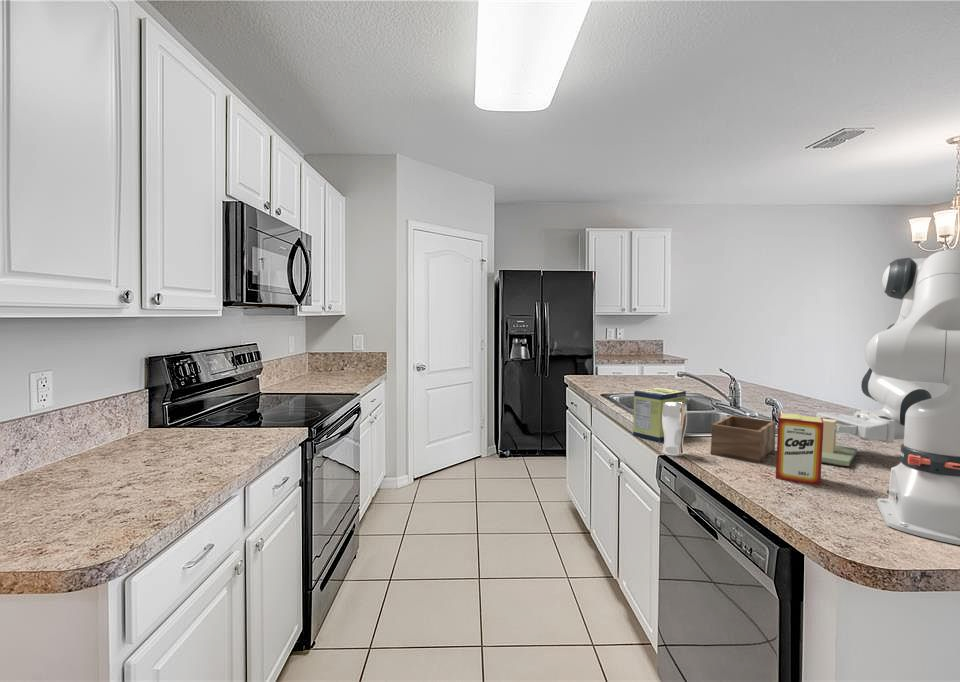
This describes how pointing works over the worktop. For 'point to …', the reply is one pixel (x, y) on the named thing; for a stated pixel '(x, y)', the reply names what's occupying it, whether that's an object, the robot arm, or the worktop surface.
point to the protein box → (652, 411)
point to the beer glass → (674, 427)
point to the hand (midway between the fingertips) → (824, 425)
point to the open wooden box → (743, 438)
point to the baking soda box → (799, 448)
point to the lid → (834, 446)
